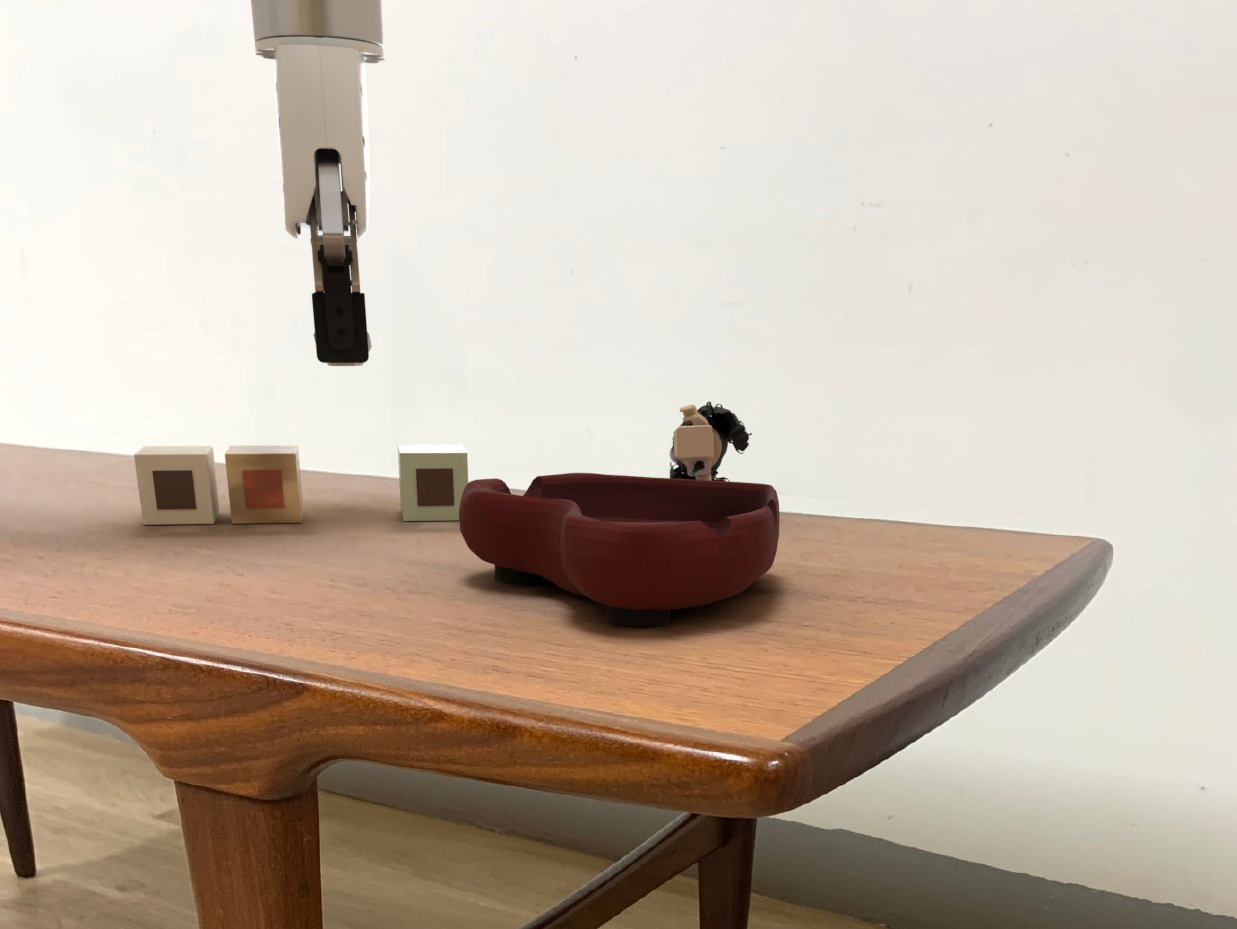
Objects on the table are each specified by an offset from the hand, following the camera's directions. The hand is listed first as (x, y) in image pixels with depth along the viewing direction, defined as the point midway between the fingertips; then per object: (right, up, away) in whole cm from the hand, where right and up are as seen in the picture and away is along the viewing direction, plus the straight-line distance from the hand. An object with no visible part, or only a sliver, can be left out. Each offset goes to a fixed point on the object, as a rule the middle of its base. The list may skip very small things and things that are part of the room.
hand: (343, 357), depth 86 cm
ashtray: (+20, -18, -15) cm, 31 cm away
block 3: (+5, -9, +5) cm, 11 cm away
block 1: (-11, -10, +2) cm, 15 cm away
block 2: (-6, -10, +3) cm, 12 cm away
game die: (0, -1, 0) cm, 1 cm away
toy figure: (+21, -3, +10) cm, 24 cm away
